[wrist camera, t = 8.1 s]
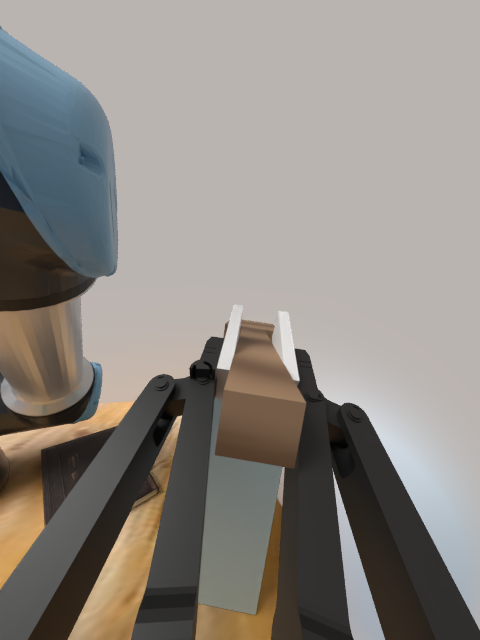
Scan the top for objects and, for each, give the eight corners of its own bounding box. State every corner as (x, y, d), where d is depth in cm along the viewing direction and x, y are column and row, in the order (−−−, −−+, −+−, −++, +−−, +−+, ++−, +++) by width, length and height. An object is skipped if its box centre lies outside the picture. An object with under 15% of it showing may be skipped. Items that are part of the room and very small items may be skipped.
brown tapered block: (355, 479, 7) (370, 413, 7) (155, 445, 7) (163, 379, 7) (270, 338, 34) (272, 324, 33) (229, 332, 34) (231, 318, 34)
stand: (255, 615, 26) (295, 395, 23) (165, 596, 26) (193, 378, 23) (253, 495, 42) (276, 357, 39) (197, 485, 42) (216, 347, 39)
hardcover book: (45, 566, 28) (45, 552, 27) (40, 459, 43) (41, 449, 43) (158, 496, 39) (159, 485, 39) (122, 431, 55) (123, 424, 55)
